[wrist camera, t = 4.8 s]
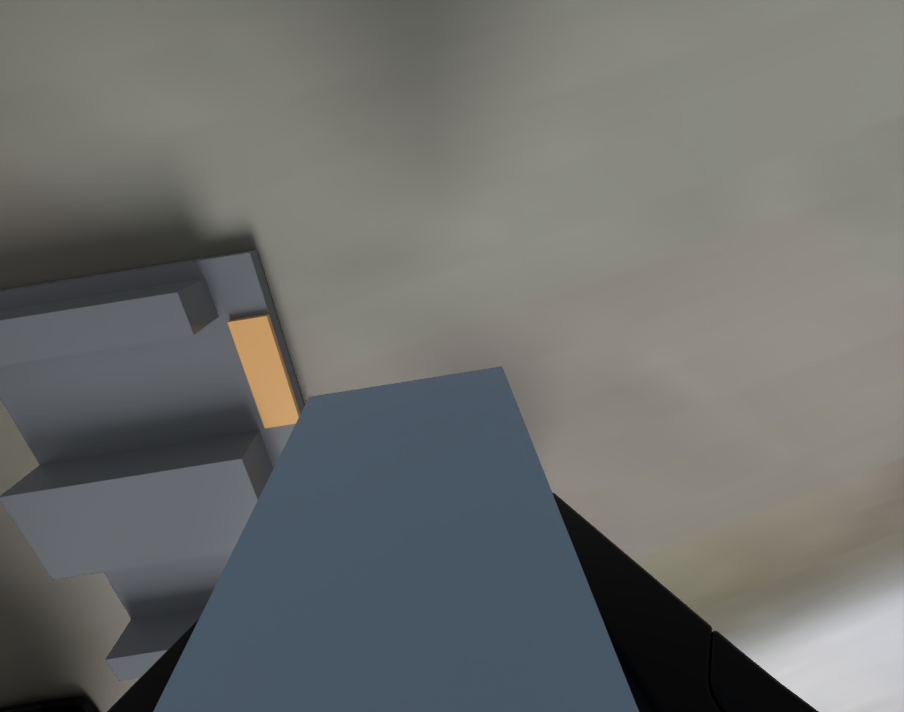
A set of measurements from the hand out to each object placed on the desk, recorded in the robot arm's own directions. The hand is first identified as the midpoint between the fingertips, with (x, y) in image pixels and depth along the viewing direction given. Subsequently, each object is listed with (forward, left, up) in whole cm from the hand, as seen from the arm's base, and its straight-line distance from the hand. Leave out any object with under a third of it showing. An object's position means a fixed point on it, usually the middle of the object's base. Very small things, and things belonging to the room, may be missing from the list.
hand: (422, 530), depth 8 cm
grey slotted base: (-6, +12, -13) cm, 19 cm away
